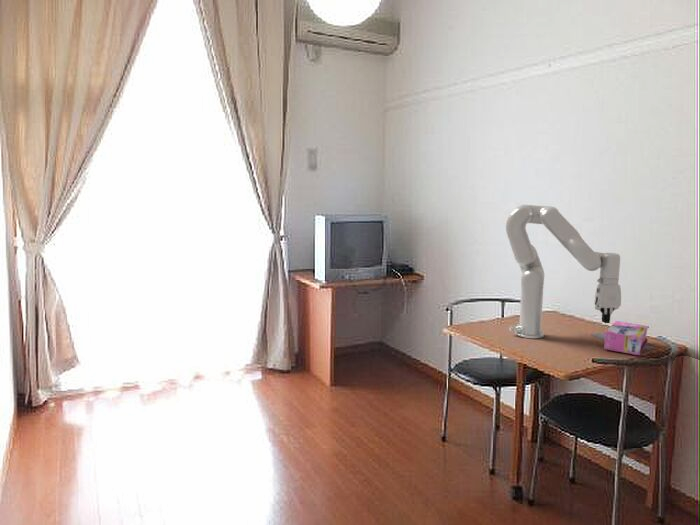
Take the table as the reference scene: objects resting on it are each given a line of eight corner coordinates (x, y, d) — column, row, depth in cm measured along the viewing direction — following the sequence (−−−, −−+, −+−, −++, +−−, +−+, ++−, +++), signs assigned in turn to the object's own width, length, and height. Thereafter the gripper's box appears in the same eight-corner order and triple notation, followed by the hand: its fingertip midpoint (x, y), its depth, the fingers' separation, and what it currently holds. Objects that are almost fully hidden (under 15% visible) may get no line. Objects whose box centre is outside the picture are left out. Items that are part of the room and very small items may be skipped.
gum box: (615, 319, 248) (649, 324, 240) (614, 336, 249) (647, 341, 242) (605, 331, 229) (641, 337, 221) (603, 349, 230) (639, 356, 222)
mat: (625, 350, 231) (625, 349, 231) (591, 334, 254) (591, 333, 254) (654, 348, 233) (654, 347, 233) (618, 333, 256) (618, 332, 256)
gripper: (598, 283, 233) (595, 325, 236) (630, 282, 235) (626, 323, 238) (588, 280, 240) (585, 320, 243) (618, 279, 243) (615, 319, 246)
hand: (605, 322), depth 241 cm, fingers closed
